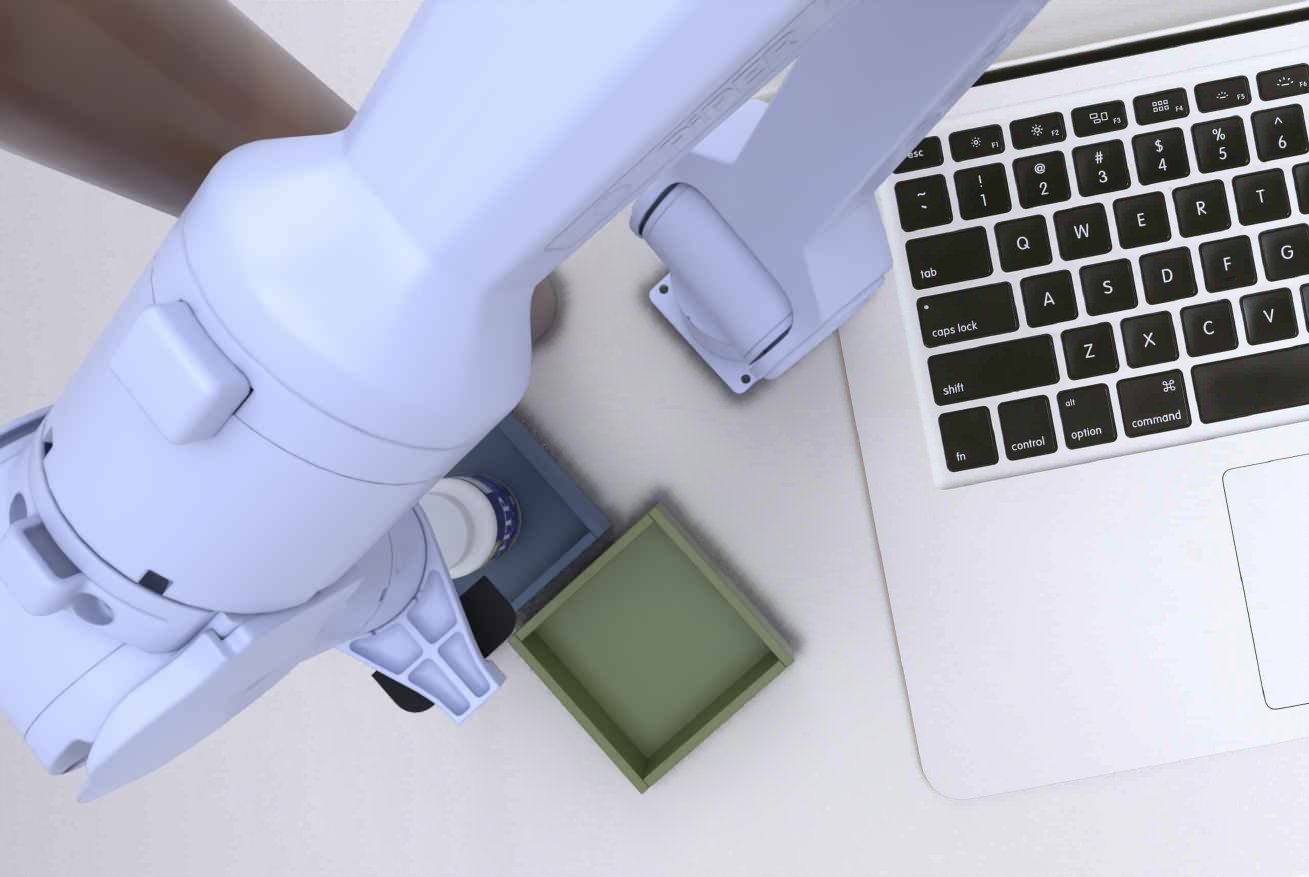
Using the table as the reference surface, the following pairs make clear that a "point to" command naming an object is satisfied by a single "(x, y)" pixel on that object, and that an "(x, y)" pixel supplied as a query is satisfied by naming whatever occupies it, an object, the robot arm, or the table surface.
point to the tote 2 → (652, 647)
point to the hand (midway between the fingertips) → (409, 546)
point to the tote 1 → (531, 512)
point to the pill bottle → (472, 520)
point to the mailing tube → (158, 97)
